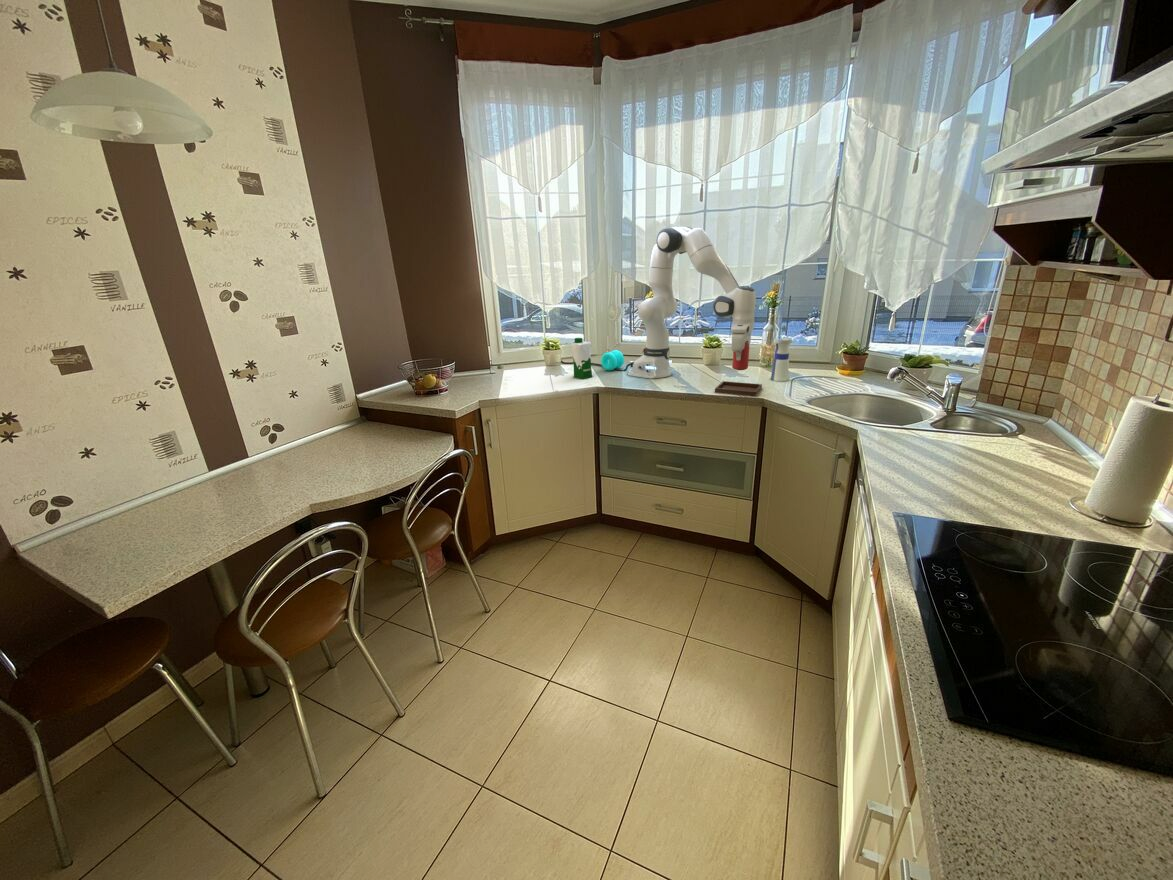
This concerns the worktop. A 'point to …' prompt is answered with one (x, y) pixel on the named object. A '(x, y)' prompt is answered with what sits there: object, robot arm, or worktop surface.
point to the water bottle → (781, 359)
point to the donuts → (612, 360)
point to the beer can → (743, 362)
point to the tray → (738, 388)
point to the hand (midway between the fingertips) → (740, 358)
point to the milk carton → (581, 358)
